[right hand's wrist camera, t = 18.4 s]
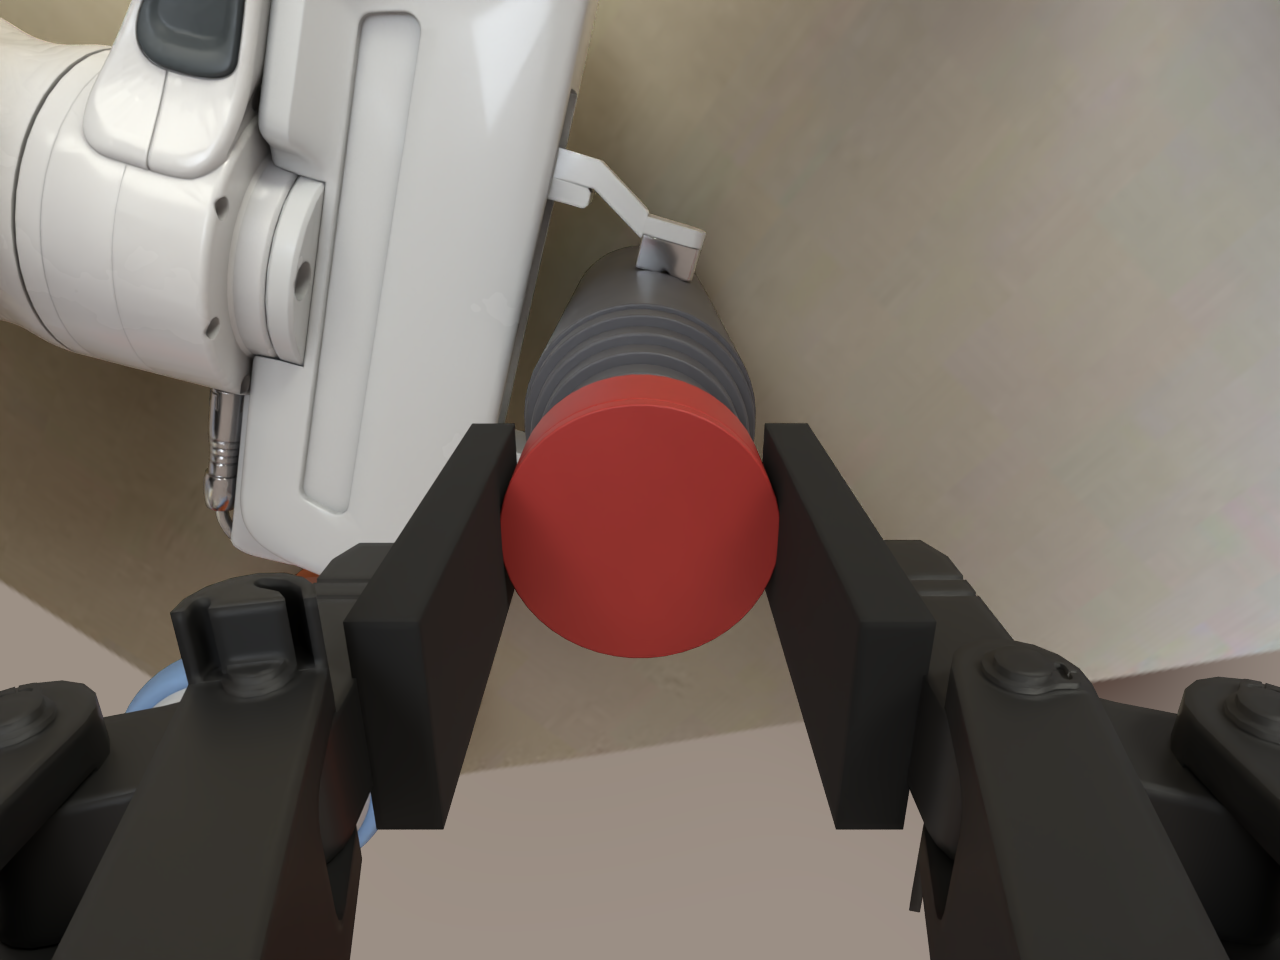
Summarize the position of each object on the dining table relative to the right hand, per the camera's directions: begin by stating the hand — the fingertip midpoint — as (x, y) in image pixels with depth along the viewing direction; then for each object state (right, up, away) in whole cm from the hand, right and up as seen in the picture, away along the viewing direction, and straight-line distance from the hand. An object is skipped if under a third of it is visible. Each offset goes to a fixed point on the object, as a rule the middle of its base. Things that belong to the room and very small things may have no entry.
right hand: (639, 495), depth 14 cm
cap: (0, -1, -1) cm, 2 cm away
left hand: (+1, +4, +11) cm, 11 cm away
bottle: (0, +7, +17) cm, 18 cm away
